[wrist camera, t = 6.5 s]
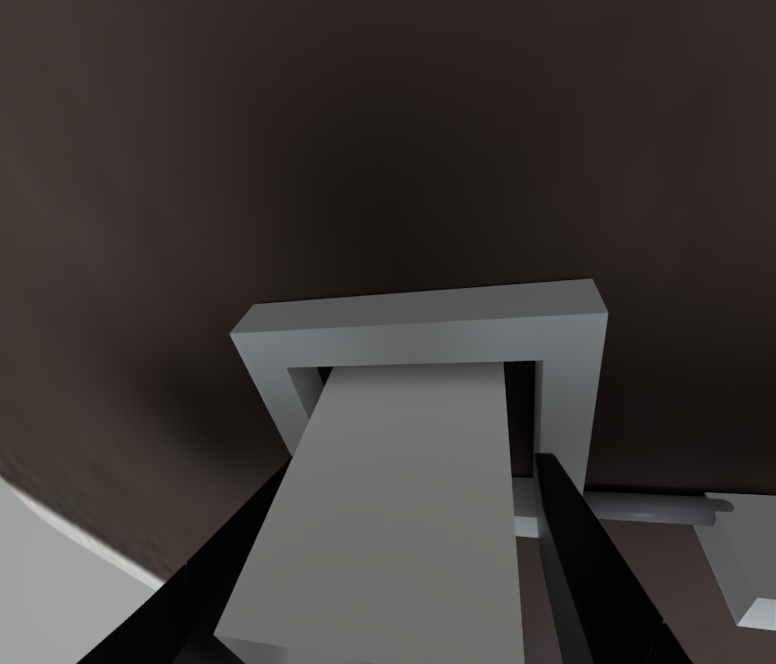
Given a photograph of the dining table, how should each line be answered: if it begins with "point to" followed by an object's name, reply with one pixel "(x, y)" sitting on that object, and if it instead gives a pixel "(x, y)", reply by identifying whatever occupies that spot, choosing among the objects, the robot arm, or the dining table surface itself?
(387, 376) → the block
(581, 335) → the plate
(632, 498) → the frame
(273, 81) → the dining table surface
